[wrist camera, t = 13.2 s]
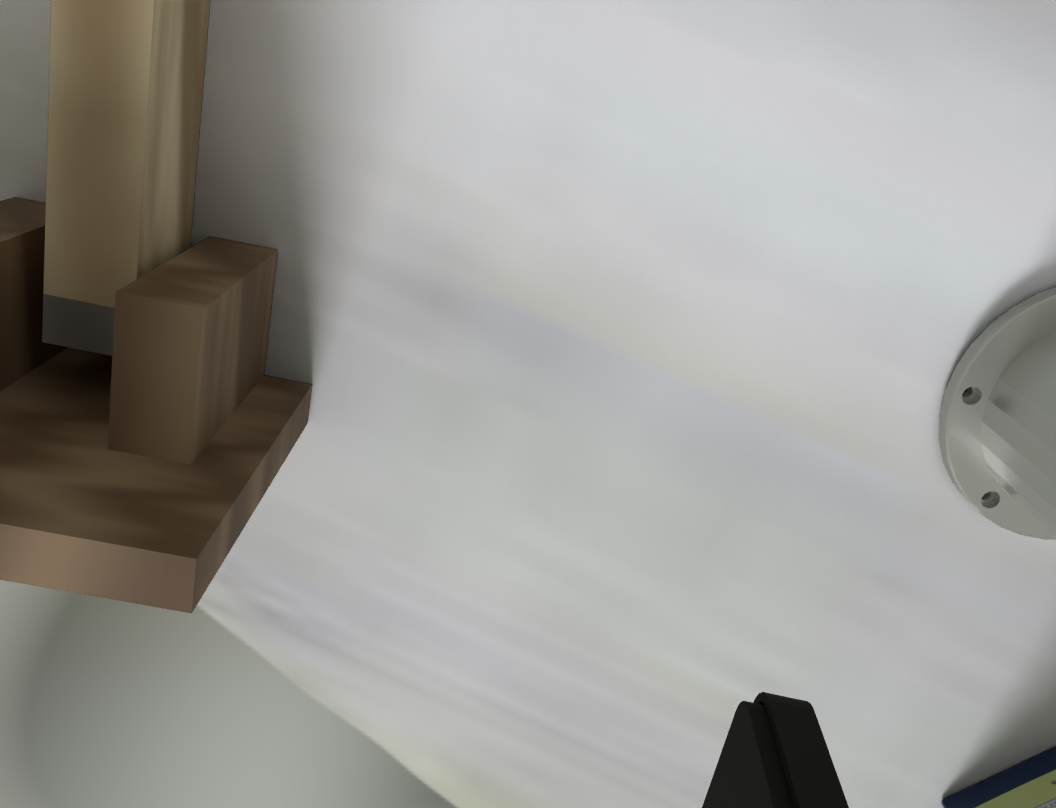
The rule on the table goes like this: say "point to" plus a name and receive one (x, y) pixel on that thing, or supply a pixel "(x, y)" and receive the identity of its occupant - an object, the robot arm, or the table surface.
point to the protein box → (1013, 787)
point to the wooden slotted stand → (138, 423)
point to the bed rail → (117, 154)
